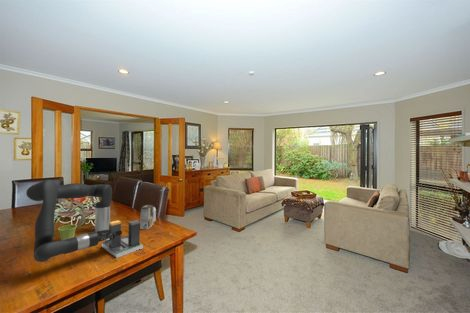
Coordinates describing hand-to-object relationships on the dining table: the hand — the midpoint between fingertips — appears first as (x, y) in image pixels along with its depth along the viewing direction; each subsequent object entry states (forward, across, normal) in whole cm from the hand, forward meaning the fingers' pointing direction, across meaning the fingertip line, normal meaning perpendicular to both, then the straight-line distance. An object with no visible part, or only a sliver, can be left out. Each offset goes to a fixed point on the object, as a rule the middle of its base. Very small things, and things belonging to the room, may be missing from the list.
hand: (119, 231), depth 123 cm
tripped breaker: (-3, 0, +8) cm, 8 cm away
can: (+36, +27, +10) cm, 46 cm away
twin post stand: (+1, -1, +10) cm, 10 cm away
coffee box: (+28, +19, +10) cm, 36 cm away
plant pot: (-17, +34, +10) cm, 39 cm away
